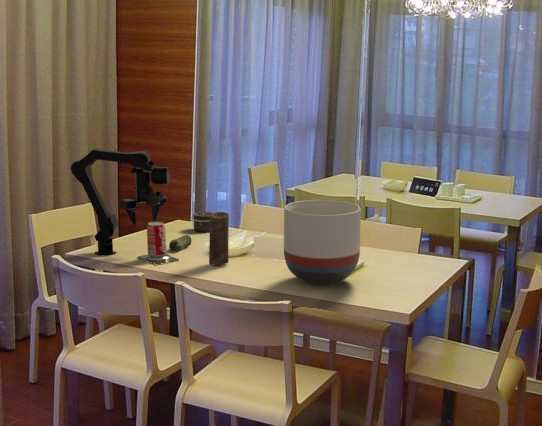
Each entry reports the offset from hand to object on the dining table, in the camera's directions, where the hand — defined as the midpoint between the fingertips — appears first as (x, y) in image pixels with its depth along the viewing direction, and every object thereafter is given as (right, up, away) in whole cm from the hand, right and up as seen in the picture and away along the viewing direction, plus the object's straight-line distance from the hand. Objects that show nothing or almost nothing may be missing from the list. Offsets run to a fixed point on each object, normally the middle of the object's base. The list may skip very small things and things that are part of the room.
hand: (144, 222), depth 326 cm
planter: (+68, -21, -32) cm, 78 cm away
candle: (+30, -16, -11) cm, 36 cm away
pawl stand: (+6, -14, -4) cm, 16 cm away
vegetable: (+13, -11, +13) cm, 21 cm away
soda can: (+6, -13, -4) cm, 15 cm away
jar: (+20, -4, +44) cm, 48 cm away
